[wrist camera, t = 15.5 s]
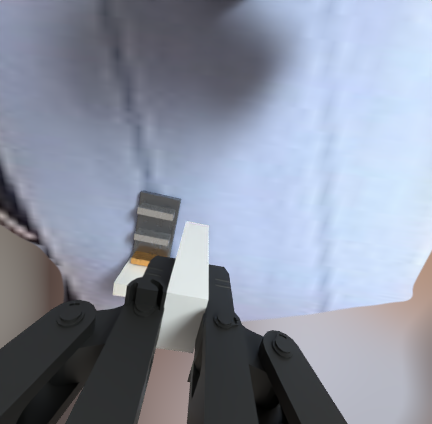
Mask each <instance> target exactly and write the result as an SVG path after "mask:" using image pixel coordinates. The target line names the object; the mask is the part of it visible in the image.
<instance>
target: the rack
mask: <svg viewBox="0 0 432 424" xmlns="http://www.w3.org/2000/svg"><path fill="white" fill-rule="evenodd" d="M180 203H181V199H178V198H174V197H169V196H165V195H160V194H156V193H152V192H147V191H141V195H140V202H139V206H138V210H137V214H138V218H137V226H136V232H135V234H134V240H135V241H134V249H133V256H132V258H131V264H137V265H142V266H148V264H149V262H150V260H151V259H153V258H154V257H155V256H157V255H159V256H164V257H169V258H170V254H171V249H172V243H173V238H174V233H175V228H176V223H177V218H178V213H179V208H180Z"/></svg>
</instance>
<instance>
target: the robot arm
mask: <svg viewBox="0 0 432 424" xmlns="http://www.w3.org/2000/svg"><path fill="white" fill-rule="evenodd" d="M156 348H160V349H168V350H174V351H182V352H189V353H193V351H194V348H195V355H194V361H193V364H192V367H191V371H190V374H189V378H188V382H190V393H189V405H188V417H187V424H347V422H346V421H345V419H344V417H343V416H342V414H341V413H340V411H339V410H338V408H337V406H336V405H335V403H334V402H333V400H332V399H331V397H330V396H329V394H328V392H327V391H326V389H325V388H324V386H323V385H322V383H321V382H320V380H319V378H318V377H317V375H316V374H315V372H314V370H313V369H312V367H311V366H310V364H309V363H308V361H307V359H306V358H305V356H304V355H303V353H302V352H301V350H300V349H299V347H298V346H297V344H296V343H295V342H294V341H293V339H291V338H290V337H289V336H287V335H286V334H284V333H282V332H280V331H274V330H272V331H268V332H267V333H266V334H265V335H264V337H263V336H261V335H259V334H256V333H254V332H252V331H250V330H248V329H246V328H245V327H244V326H243V325H242V324H241V321H240V318H239V317H238V316H237V315H236V313H235V312H234V306H233V299H232V292H231V285H230V278H229V273H228V272H227V271H226V269H225V268H224V267H220V266H215V265H210V264H209V226H208V225H203V224H198V223H194V222H189V221H186V223H185V227H184V231H183V234H182V238H181V242H180V245H179V249H178V253H177V256H176V259H175V258H169V257H164V256H159V255H157V256H155V257H154V258H153V259H151V260H150V262H149V264H148V266H147V268H146V270H145V273H144V275H143V277H139V278H136V279H134V280H132V281H131V282H130V283H129V284H128V285H127V288H126V296H125V304H124V305H123V306H120V307H118V308H114V309H109V310H99V311H96V309H95V307H94V305H92V304H91V303H89V302H87V301H82V300H75V301H69V302H66V303H63V304H60V305H59V306H57V307H55V308H53V309H52V310H51V311H49V312H48V313H47V314H45V315H44V316H43V317H41V318H40V319H39V320H38V321H36V322H35V323H34V324H32V325H31V326H30V327H28V328H27V329H26V330H24V331H23V332H22V333H21V334H19V335H18V336H17V337H15V338H14V339H13V340H11V341H10V342H9V343H7V344H6V345H5V346H4V347H2V348H1V349H0V424H56V423H57V422H58V420H59V419H60V418H61V416H62V415H63V413H64V412H65V411H66V409H67V408H68V407H69V405H70V404H71V403H72V401H73V400H74V399H75V397H76V396H77V395H78V393H79V392H80V390H81V389H82V388H83V390H82V391H81V393H80V395H79V397H78V399H77V401H76V403H75V405H74V407H73V409H72V411H71V413H70V415H69V417H68V419H67V421H66V423H65V424H137V423H138V419H139V415H140V411H141V407H142V403H143V399H144V395H145V391H146V387H147V383H148V379H149V375H150V371H151V367H152V363H153V358H154V353H155V349H156Z"/></svg>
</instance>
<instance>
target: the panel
mask: <svg viewBox="0 0 432 424" xmlns="http://www.w3.org/2000/svg"><path fill="white" fill-rule="evenodd" d="M146 268H147V266H142V265H137V264H131V258H130V259H129V261H128V262H127V264H126V265H125V267H124V268H123V270H122V271H121V273H120V274H119V276H118V277H117V279H116V280H115V282H114V287H113V295H116V296H122V297H125V296H126V288H127V285H128V284H129V283H130V282H131V281H132V280H134V279H136V278H139V277H143V275H144V273H145V270H146Z"/></svg>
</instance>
